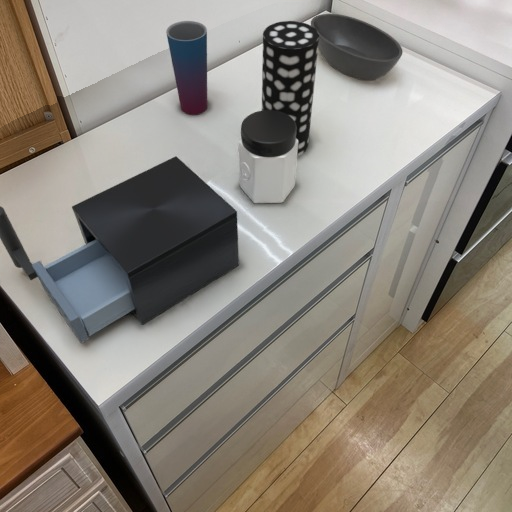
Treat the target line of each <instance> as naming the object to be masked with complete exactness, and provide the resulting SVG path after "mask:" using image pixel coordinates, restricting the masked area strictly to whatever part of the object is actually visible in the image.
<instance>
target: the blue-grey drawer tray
mask: <svg viewBox="0 0 512 512" xmlns="http://www.w3.org/2000/svg"><path fill="white" fill-rule="evenodd" d="M0 241H1V243H2V244H3V246H4V248H5V250H6V252H7V254H8V255H9V258H10V259H11V261H12V263H13V265H14V266H15V268H18V269H22V270H23V272H24V274H25V275H26V276H27V278H28V280H30V281H33V280H35V279H36V278H37V279H38V281H39V282H40V285H41V287H42V289H43V290H44V292H45V293H46V294H47V296H48V297H49V299H50V300H51V302H52V304H54V306H55V307H56V309H57V310H58V312H59V313H60V315H61V316H62V318H63V319H64V321H65V322H66V323H67V325H68V326H69V328H70V330H71V331H72V332H73V334H74V335H75V336H76V338H77V339H78V341H79V342H80V344H82V343H84V342H87V340H89V339H90V337H89V336H92V335H94V334H95V333H98V332H99V331H101V330H103V329H104V328H105V327H107V326H109V325H111V324H112V323H114V322H115V321H118V320H119V319H120V318H122V317H124V316H125V315H127V314H129V313H132V310H134V309H135V308H134V305H133V302H132V298H131V295H130V292H129V288H128V285H127V282H126V278H125V275H124V272H123V271H122V270H121V269H120V267H119V266H118V265H117V264H116V263H115V261H114V260H113V259H112V258H111V256H110V255H109V254H108V253H107V252H106V250H105V249H104V248H103V247H102V246H101V244H100V243H99V242H98V241H97V239H95V240H94V241H92V242H90V243H88V244H84V245H82V246H80V247H78V248H76V249H74V250H73V251H71V252H69V253H66V254H64V255H63V256H61V257H59V258H57V259H55V260H53V261H51V262H49V263H47V264H46V265H43V263H42V262H41V261H40V260H38V261H36V262H34V263H32V262H31V261H30V258H29V256H28V253H27V252H26V250H25V248H24V246H23V243H22V242H21V240H20V238H19V236H18V234H17V232H16V230H15V228H14V226H13V224H12V222H11V220H10V218H9V217H8V214H7V212H6V210H5V208H4V207H3V206H1V205H0Z"/></svg>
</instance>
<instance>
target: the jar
mask: <svg viewBox="0 0 512 512" xmlns="http://www.w3.org/2000/svg"><path fill="white" fill-rule="evenodd" d="M296 130H297V127H296V123H295V121H294V120H293V119H292V118H291V117H290V116H289V115H287V114H285V113H282V112H279V111H274V110H263V111H262V110H258V111H254V112H252V113H250V114H249V115H247V116H246V117H245V118H244V119H243V121H242V122H241V126H240V139H239V140H238V167H239V187H240V189H241V190H242V191H243V192H244V193H245V195H246V196H247V197H248V198H249V199H250V200H251V201H252V202H253V203H254V204H279V203H280V204H282V203H284V201H286V199H287V197H288V196H289V195H290V193H291V192H292V190H293V189H294V188H295V187H296V176H297V164H298V156H297V152H298V140H297V139H296Z"/></svg>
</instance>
